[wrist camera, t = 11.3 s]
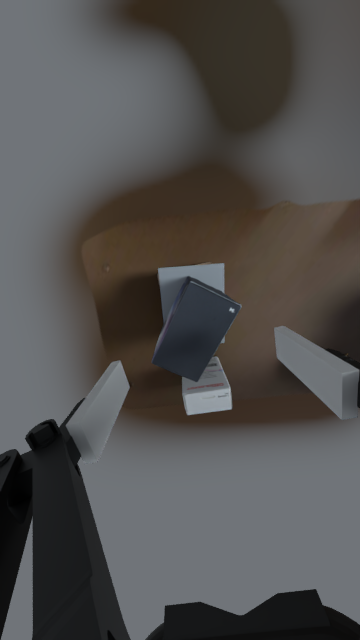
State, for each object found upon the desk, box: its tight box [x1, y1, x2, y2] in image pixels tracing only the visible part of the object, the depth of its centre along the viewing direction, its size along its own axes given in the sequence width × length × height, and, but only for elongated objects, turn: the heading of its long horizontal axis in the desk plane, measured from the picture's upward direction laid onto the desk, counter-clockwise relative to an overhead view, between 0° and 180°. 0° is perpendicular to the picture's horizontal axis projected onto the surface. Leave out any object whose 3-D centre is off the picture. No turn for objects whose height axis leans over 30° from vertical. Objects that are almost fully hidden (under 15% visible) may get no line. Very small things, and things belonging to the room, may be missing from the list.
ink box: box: [182, 356, 232, 415], centre depth 38 cm, size 8×5×12 cm, turn 100°
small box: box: [152, 276, 241, 382], centre depth 25 cm, size 11×6×10 cm, turn 155°
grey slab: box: [158, 263, 224, 343], centre depth 32 cm, size 10×13×5 cm
